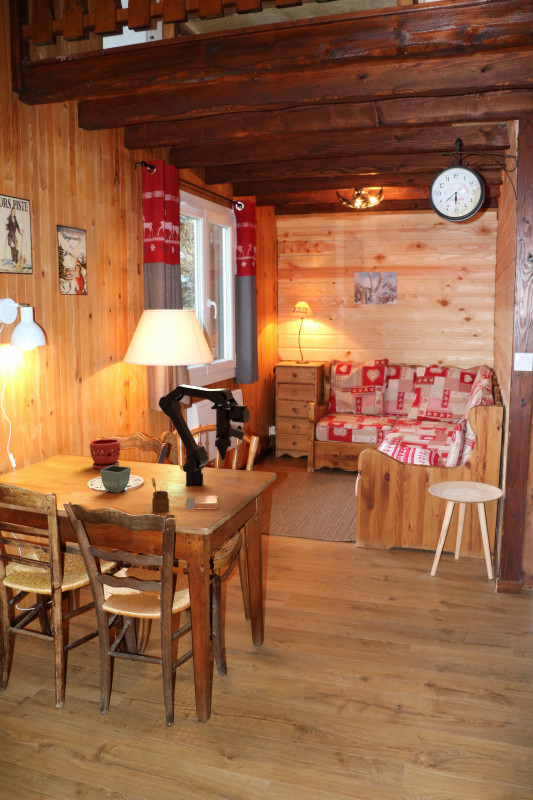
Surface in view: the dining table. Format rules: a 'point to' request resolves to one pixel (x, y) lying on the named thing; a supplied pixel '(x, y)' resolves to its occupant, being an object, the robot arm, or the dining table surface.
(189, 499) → the slate mat
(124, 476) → the flower pot
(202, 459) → the robot arm
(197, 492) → the dining table surface
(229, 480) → the dining table surface
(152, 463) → the dining table surface
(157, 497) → the utensil holder
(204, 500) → the block
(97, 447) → the plant pot
